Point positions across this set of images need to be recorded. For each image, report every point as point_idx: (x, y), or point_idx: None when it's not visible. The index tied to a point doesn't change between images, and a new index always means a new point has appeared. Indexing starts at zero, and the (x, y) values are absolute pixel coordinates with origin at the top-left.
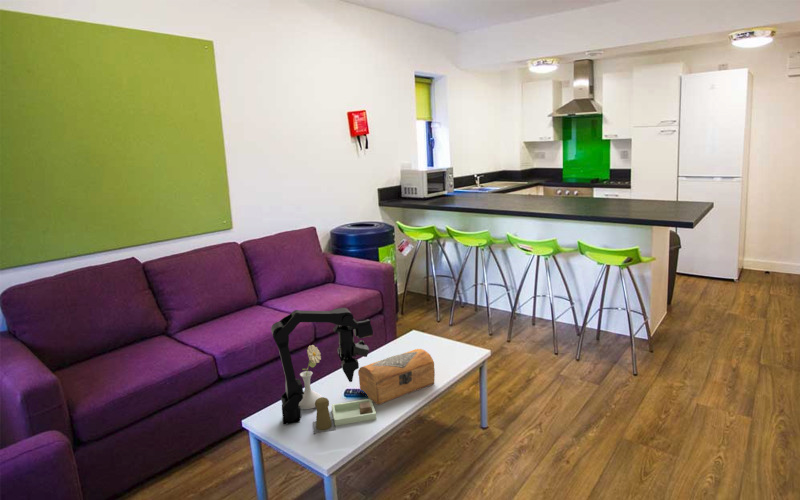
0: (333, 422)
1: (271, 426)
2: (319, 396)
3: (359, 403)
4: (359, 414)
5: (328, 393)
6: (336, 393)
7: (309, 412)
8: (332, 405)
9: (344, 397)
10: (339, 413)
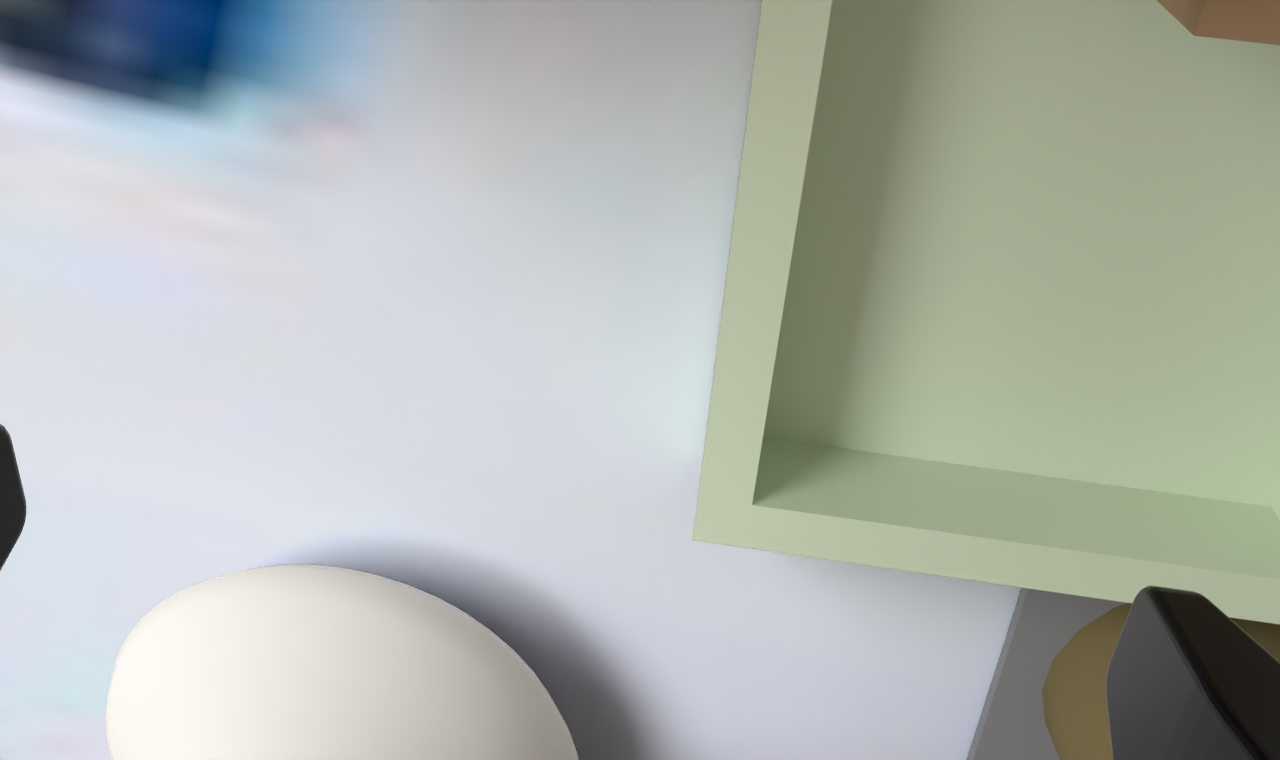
0: None
1: None
2: (346, 681)
3: (1209, 29)
4: None
5: (29, 371)
6: (49, 236)
7: (613, 748)
8: (739, 533)
9: (254, 124)
10: (912, 385)
